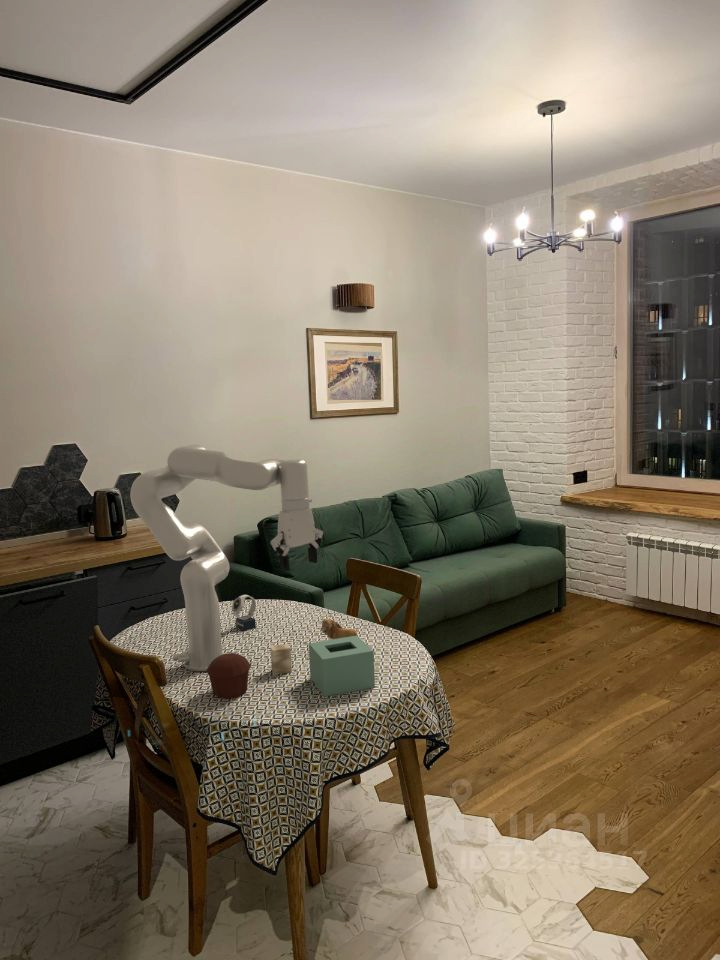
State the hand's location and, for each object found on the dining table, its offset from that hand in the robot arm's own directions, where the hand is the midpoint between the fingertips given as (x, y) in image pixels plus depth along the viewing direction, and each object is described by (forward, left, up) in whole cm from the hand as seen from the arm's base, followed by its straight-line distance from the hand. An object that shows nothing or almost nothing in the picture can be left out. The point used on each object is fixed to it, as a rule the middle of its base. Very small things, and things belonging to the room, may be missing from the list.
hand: (299, 565), depth 200 cm
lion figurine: (+15, +11, -31) cm, 36 cm away
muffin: (-22, -5, -31) cm, 38 cm away
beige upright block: (-6, +3, -31) cm, 31 cm away
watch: (-8, +45, -31) cm, 55 cm away
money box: (+7, -12, -31) cm, 34 cm away
